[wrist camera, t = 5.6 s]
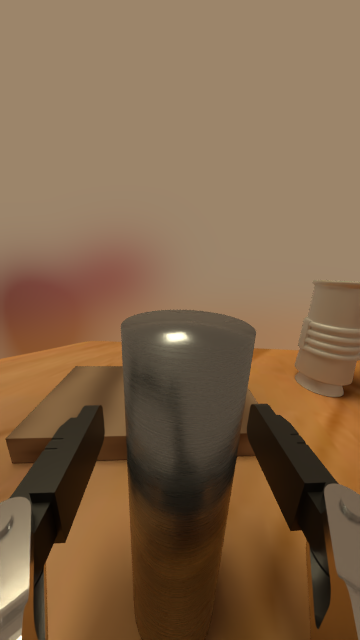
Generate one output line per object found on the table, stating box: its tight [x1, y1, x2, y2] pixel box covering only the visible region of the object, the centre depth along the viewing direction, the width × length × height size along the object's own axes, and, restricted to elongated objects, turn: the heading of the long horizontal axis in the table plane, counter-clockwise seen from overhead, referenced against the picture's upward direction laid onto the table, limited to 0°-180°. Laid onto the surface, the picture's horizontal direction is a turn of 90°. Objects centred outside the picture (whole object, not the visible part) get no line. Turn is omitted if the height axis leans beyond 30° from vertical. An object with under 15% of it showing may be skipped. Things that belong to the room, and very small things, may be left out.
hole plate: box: [6, 366, 258, 463], centre depth 20 cm, size 22×11×2 cm, turn 93°
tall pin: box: [121, 310, 256, 640], centre depth 8 cm, size 4×4×14 cm
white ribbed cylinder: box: [295, 280, 360, 397], centre depth 25 cm, size 7×7×15 cm
